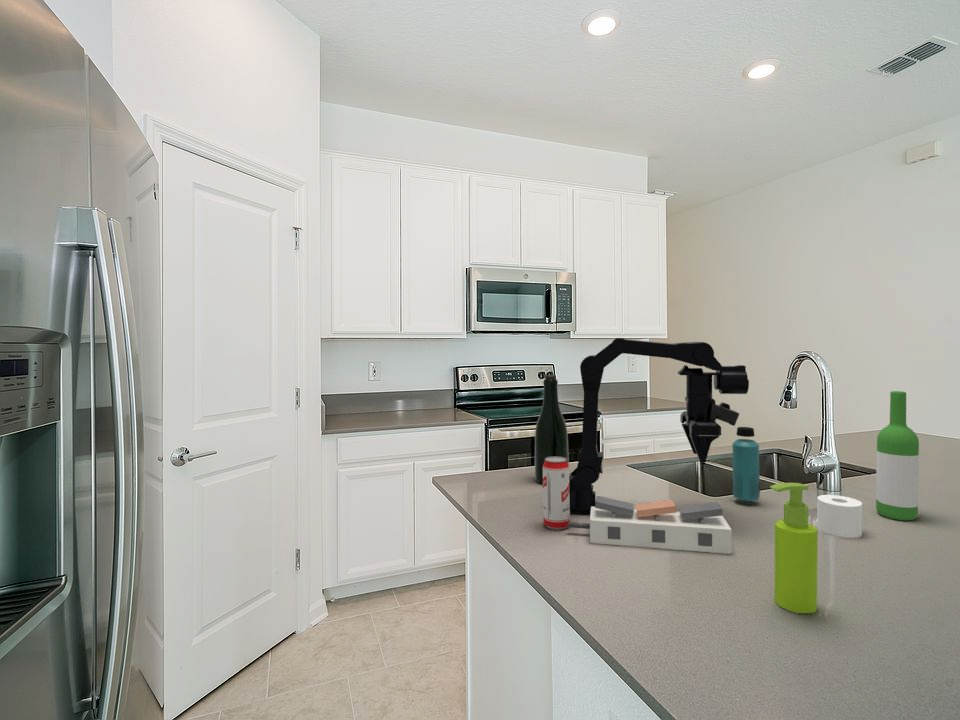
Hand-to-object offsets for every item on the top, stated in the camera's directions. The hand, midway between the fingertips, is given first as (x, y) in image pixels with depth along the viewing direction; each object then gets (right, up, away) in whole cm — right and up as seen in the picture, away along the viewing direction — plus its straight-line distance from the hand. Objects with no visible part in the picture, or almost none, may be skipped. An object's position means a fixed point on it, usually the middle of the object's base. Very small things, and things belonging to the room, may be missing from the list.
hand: (699, 458), depth 122 cm
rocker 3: (-6, -9, -15) cm, 18 cm away
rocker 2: (-15, -10, -12) cm, 21 cm away
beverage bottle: (+17, -14, +11) cm, 25 cm away
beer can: (-35, -16, -3) cm, 38 cm away
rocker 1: (-23, -10, -10) cm, 27 cm away
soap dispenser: (-2, -17, -39) cm, 43 cm away
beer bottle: (-31, -14, +34) cm, 48 cm away
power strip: (-17, -16, -12) cm, 26 cm away
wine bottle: (+47, -14, -1) cm, 49 cm away
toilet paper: (+29, -15, -8) cm, 33 cm away
